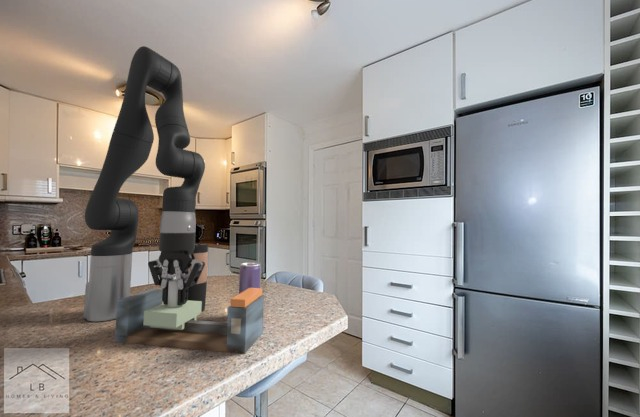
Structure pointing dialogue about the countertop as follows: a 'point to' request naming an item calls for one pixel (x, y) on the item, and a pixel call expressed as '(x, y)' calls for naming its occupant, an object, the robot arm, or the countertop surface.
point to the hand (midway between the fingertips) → (174, 303)
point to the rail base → (179, 339)
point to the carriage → (172, 311)
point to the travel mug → (199, 289)
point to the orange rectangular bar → (246, 297)
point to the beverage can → (249, 276)
